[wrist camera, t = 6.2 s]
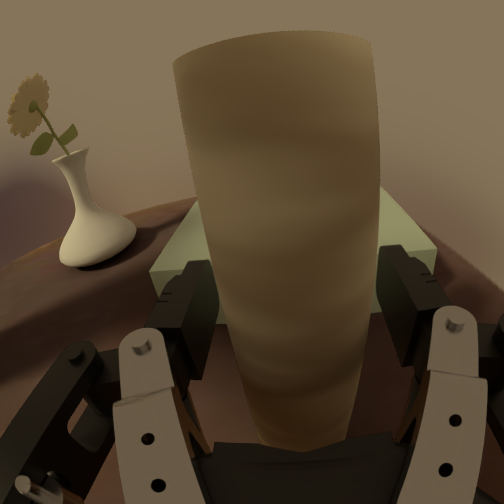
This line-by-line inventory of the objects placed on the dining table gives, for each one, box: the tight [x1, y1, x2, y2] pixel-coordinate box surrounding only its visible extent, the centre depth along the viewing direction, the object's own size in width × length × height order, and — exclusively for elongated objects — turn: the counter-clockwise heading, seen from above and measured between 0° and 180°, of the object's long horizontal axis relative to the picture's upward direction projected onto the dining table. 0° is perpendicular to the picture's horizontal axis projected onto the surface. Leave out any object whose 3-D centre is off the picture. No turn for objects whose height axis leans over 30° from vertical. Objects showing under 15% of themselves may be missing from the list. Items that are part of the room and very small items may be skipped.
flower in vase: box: [7, 73, 136, 267], centre depth 30 cm, size 13×11×25 cm
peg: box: [173, 31, 380, 452], centre depth 9 cm, size 4×4×16 cm
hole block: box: [149, 186, 437, 324], centre depth 27 cm, size 20×16×5 cm
